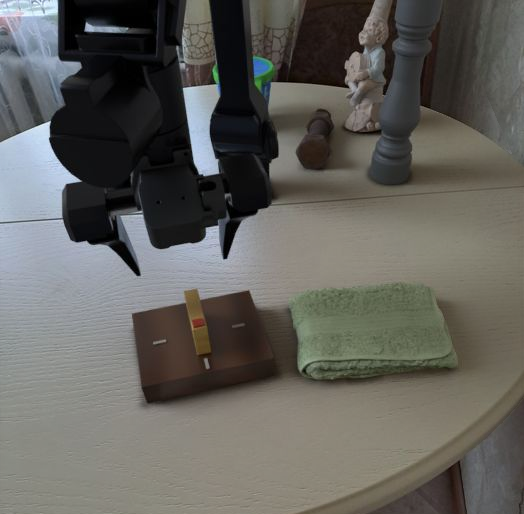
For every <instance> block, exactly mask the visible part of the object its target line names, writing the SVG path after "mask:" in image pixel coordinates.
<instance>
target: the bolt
mask: <svg viewBox="0 0 524 514" xmlns="http://www.w3.org/2000/svg"><path fill="white" fill-rule="evenodd" d="M305 129H306V132H307V134H305V135H303V137H302V139H301V141H300V142H299V144H298V146H297V147H296V149H295V155H296V157H297V159H298V161H299V163H300V165H301V166H302V167H303V168H305V169H308V170H320V169H322V168H323V167H324V166H325V164H326V163H327V162H328V160H329V159H330V157H331V155H332V149H331V147H330V145H329V143H328V141H327V140H328V139H329V138H330V136H331V134H332V133H333V131H334V130H335V124H334V121H333V119H332V113H331V112H330V111H329V110H327V109H325V108H317V109H316V110H315V111H314V112H312V114H311V116H310V117H309V119H308V121H307V123H306V124H305Z"/></svg>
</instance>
